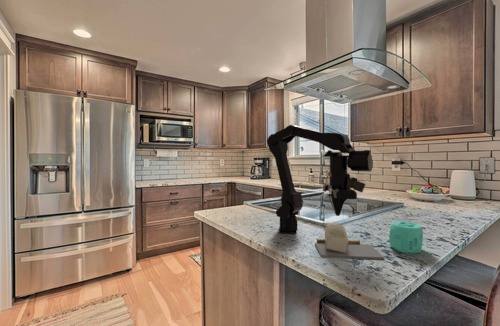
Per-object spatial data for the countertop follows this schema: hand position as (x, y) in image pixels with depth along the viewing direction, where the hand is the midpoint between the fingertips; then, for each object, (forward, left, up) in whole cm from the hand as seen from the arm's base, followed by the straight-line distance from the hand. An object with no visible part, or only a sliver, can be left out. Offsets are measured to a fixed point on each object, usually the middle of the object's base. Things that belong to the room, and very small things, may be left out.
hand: (337, 215), depth 82 cm
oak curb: (0, -1, -10) cm, 10 cm away
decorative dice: (+21, -3, -10) cm, 23 cm away
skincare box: (0, +2, -5) cm, 6 cm away
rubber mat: (+1, -7, -10) cm, 12 cm away
